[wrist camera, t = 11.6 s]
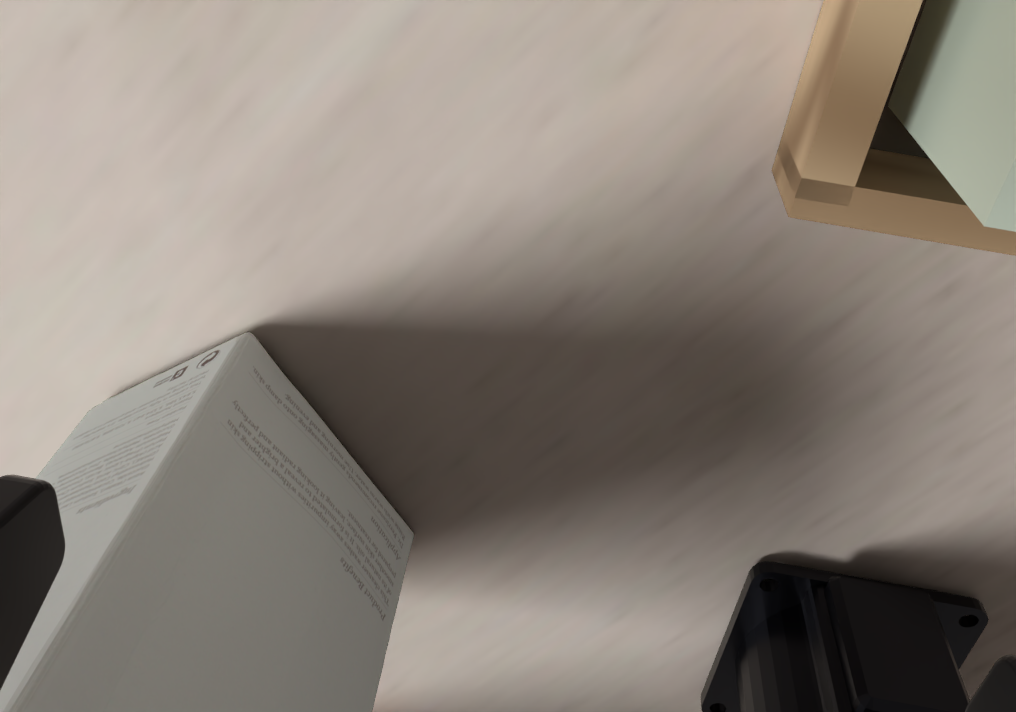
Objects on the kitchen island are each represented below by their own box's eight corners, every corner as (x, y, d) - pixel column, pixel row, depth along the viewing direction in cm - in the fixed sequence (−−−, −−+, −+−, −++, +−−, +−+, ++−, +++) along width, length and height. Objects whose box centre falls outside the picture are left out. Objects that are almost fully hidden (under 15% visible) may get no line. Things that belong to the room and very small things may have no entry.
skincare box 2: (96, 398, 25) (-441, 1011, 12) (264, 316, 23) (-181, 954, 10) (277, 597, 28) (-2, 1231, 16) (437, 541, 26) (260, 1222, 14)
